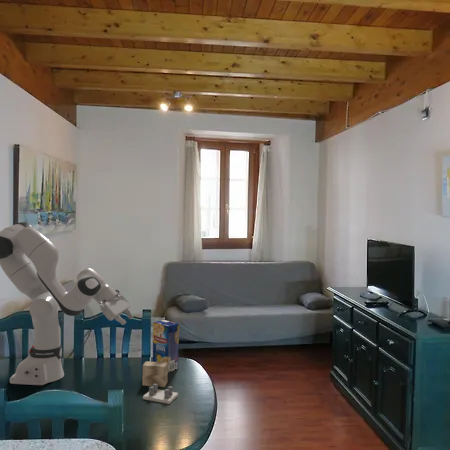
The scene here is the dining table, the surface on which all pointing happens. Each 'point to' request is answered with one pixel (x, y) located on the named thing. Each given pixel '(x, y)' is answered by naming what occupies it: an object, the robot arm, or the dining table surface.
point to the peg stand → (160, 394)
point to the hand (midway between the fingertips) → (128, 320)
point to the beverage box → (166, 343)
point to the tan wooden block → (155, 373)
